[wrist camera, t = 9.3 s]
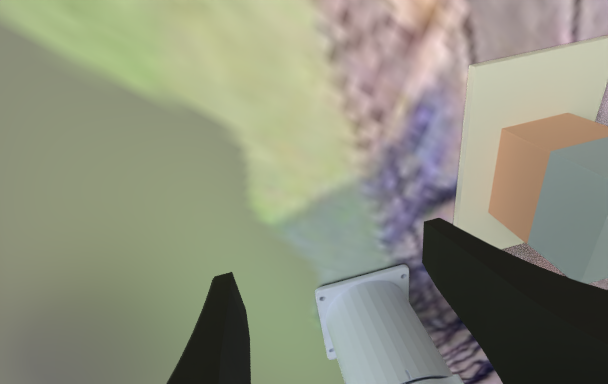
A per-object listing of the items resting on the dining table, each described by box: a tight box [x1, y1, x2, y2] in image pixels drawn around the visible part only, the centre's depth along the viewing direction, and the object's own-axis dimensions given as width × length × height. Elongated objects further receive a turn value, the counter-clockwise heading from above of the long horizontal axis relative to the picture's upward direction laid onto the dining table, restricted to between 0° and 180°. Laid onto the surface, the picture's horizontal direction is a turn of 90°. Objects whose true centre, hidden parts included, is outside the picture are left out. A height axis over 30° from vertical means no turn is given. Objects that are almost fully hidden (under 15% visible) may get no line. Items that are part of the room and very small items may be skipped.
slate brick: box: [527, 137, 608, 284], centre depth 20 cm, size 7×5×4 cm
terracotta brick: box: [488, 113, 608, 244], centre depth 23 cm, size 7×5×4 cm
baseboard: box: [453, 35, 608, 249], centre depth 25 cm, size 16×10×1 cm, turn 9°
